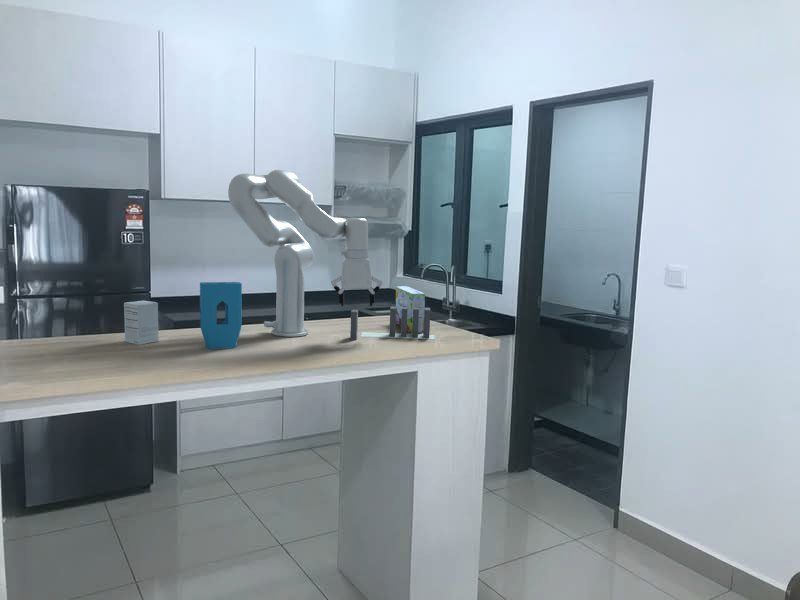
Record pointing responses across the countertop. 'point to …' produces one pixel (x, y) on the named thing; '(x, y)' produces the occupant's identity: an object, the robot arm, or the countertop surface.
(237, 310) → the block
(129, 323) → the supplement box
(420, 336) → the mat
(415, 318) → the domino
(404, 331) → the domino
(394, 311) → the domino
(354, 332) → the domino
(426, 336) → the domino
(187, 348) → the countertop surface
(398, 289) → the snack box
